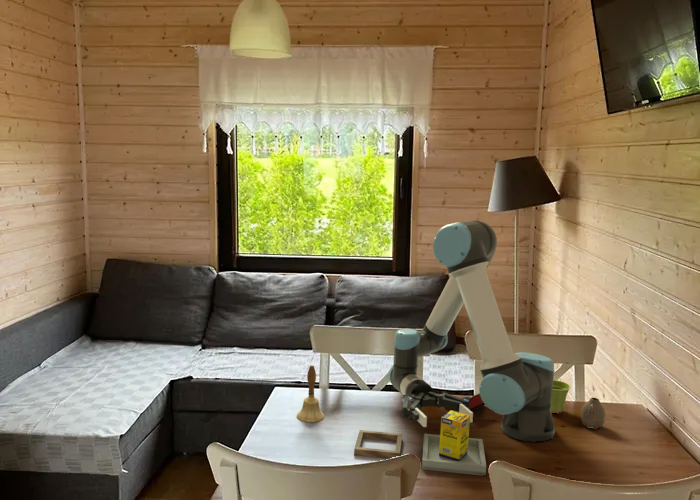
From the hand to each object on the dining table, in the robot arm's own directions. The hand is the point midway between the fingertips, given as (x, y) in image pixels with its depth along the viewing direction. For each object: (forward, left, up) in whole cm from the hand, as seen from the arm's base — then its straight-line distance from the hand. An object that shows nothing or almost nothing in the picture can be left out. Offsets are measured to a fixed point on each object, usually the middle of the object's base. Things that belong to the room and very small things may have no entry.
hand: (448, 420), depth 178 cm
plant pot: (-34, -37, -10) cm, 51 cm away
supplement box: (-2, +3, -9) cm, 9 cm away
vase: (-44, -27, -10) cm, 52 cm away
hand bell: (+40, -15, -10) cm, 44 cm away
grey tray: (-2, +3, -9) cm, 10 cm away
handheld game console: (-7, -33, -10) cm, 35 cm away
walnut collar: (+18, +1, -9) cm, 21 cm away
